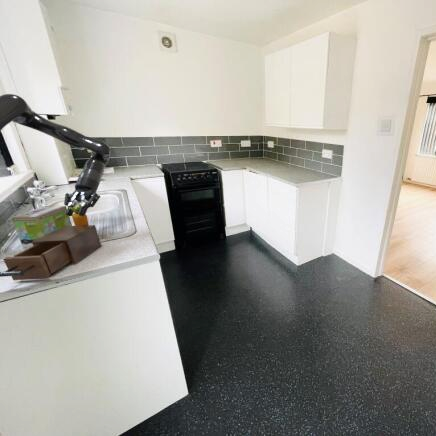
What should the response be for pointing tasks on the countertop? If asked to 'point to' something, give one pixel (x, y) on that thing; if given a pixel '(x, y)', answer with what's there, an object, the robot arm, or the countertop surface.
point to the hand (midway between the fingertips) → (74, 215)
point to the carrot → (79, 217)
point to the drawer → (37, 261)
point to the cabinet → (74, 240)
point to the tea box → (40, 223)
